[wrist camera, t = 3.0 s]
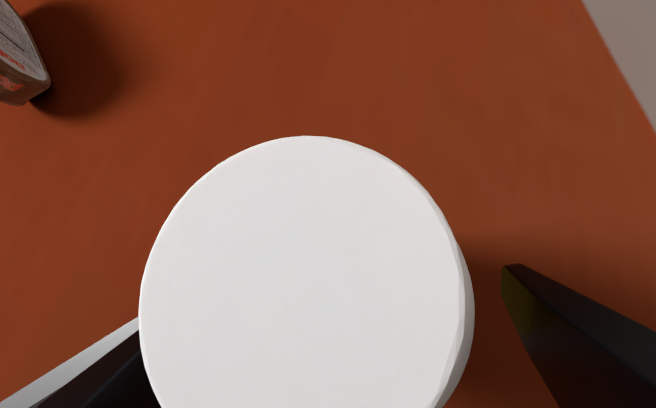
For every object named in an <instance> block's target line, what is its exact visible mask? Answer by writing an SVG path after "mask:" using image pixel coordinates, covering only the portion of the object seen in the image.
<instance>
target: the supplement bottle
mask: <svg viewBox="0 0 656 408" xmlns="http://www.w3.org/2000/svg"><path fill="white" fill-rule="evenodd" d="M474 319H475V308H474V294H473V289H472V283H471V278H470V274H469V271H468V268H467V265H466V262H465V259H464V256H463V254H462V252H461V249H460V247H459V245H458V243H457V242H456V240H455V238H454V236H453V233H452V230H451V228H450V226H449V224H448V222H447V221H446V219H445V217H444V215H443V213H442V211H441V210H440V208H439V207H438V206H437V204H436V203H435V201H434V200H433V198H432V197H431V196H430V194H429V193H428V191H427V190H426V189H425V188H424V187H423V186H422V185H421V184H420V183H419V182H418V181H417V180H416V179H415V178H414V177H413V176H412V175H411V174H409V173H408V172H407V171H406V170H405V169H403V168H402V167H400V166H399V165H397V164H396V163H394V162H393V161H391V160H390V159H388V158H387V157H385V156H383V155H381V154H379V153H377V152H376V151H374V150H371V149H369V148H366V147H363V146H360V145H358V144H355V143H352V142H349V141H345V140H341V139H335V138H329V137H320V136H299V137H287V138H281V139H276V140H272V141H268V142H265V143H262V144H259V145H256V146H253V147H251V148H248V149H246V150H244V151H242V152H240V153H238V154H236V155H234V156H232V157H230V158H228V159H226V160H225V161H223V162H221V163H220V164H218V165H217V166H216V167H214V168H213V169H212V170H210V171H209V172H208V173H207V174H205V175H204V176H203V177H202V178H201V179H199V180H198V181H197V182H196V183H195V184H194V185H193V186H192V187H191V188H190V189H189V190H188V191H187V192H186V193H185V195H184V196H183V197H182V198H181V199H180V201H179V202H178V203H177V204H176V206H175V207H174V208H173V210H172V212H171V213H170V215H169V216H168V218H167V220H166V221H165V223H164V225H163V226H162V228H161V230H160V232H159V234H158V236H157V238H156V241H155V243H154V245H153V248H152V250H151V253H150V255H149V258H148V261H147V263H146V267H145V271H144V275H143V279H142V282H141V291H140V300H139V335H140V347H141V352H142V357H143V362H144V367H145V370H146V372H147V375H148V378H149V381H150V384H151V387H152V389H153V391H154V393H155V395H156V398H157V400H158V402H159V404H160V406H161V407H162V408H443V406H444V405H445V404H446V402H447V401H448V399H449V398H450V396H451V395H452V393H453V392H454V390H455V388H456V386H457V385H458V383H459V381H460V378H461V376H462V374H463V372H464V369H465V366H466V364H467V361H468V358H469V355H470V350H471V345H472V340H473V333H474Z"/></svg>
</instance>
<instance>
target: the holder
mask: <svg viewBox="0 0 656 408" xmlns="http://www.w3.org/2000/svg"><path fill="white" fill-rule="evenodd" d="M137 330H139V316H138V317H137V318H135V319H133V320H132V321H130V322H129V323H127V324H125V325H124V326H122V327H121V328H119V329H117V330H116V331H114V332H113V333H111V334H109V335H108V336H106V337H105V338H103V339H101V340H100V341H98V342H96V343H95V344H93V345H92V346H90V347H88V348H87V349H85V350H84V351H82V352H80V353H79V354H77V355H76V356H74V357H72V358H71V359H69V360H68V361H66V362H64V363H63V364H61V365H60V366H58V367H56V368H55V369H53V370H52V371H50V372H48V373H47V374H45V375H44V376H42V377H40V378H39V379H37V380H36V381H34V382H32V383H31V384H29V385H27V386H26V387H24V388H23V389H21V390H19V391H18V392H16V393H15V394H13V395H11V396H10V397H8V398H7V399H5V400H3V401H2V402H0V408H37V406H38V405H39V404H40V403H42V402H43V401H44V400H46V399H47V398H48V397H49V396H51V395H52V394H53V393H55V392H56V391H57V390H59V389H60V388H61V387H63V386H64V385H65V384H67V383H68V382H69V381H71V380H72V379H73V378H75V377H76V376H77V375H79V374H80V373H81V372H83V371H84V370H85V369H87V368H88V367H89V366H91V365H92V364H93V363H95V362H96V361H97V360H99V359H100V358H101V357H103V356H104V355H105V354H107V353H108V352H109V351H111V350H112V349H113V348H115V347H116V346H117V345H119V344H120V343H121V342H123V341H124V340H125V339H127V338H128V337H129V336H131V335H132V334H133V333H135V332H136V331H137Z"/></svg>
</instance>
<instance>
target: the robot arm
mask: <svg viewBox="0 0 656 408" xmlns="http://www.w3.org/2000/svg"><path fill="white" fill-rule="evenodd" d="M501 295H502V298H503V301H504V303H505V305H506V307H507V309H508V312H509V314H510V316H511V318H512V320H513V323H514V325H515V327H516V329H517V331H518V334H519V336H520V338H521V340H522V342H523V345H524V347H525V349H526V351H527V353H528V354H529V356H530V358H531V360H532V362H533V363H534V365H535V367H536V368H537V370H538V372H539V374H540V375H541V377H542V379H543V380H544V382H545V384H546V385H547V387H548V389H549V391H550V392H551V394H552V396H553V397H554V399H555V401H556V402H557V404H558V406H559V408H656V331H654V330H652V329H650V328H648V327H646V326H644V325H642V324H640V323H638V322H636V321H634V320H632V319H630V318H628V317H626V316H624V315H622V314H620V313H618V312H616V311H614V310H612V309H610V308H608V307H606V306H604V305H602V304H600V303H598V302H596V301H594V300H592V299H590V298H588V297H586V296H584V295H582V294H580V293H578V292H576V291H574V290H572V289H570V288H568V287H566V286H564V285H562V284H560V283H558V282H556V281H554V280H552V279H550V278H548V277H546V276H544V275H542V274H540V273H538V272H536V271H534V270H532V269H530V268H528V267H526V266H524V265H522V264H509V265H505V266H503V268H502V275H501ZM37 408H162V407H161V406H160V404H159V402H158V400H157V398H156V395H155V393H154V391H153V389H152V387H151V384H150V381H149V378H148V375H147V372H146V370H145V367H144V362H143V357H142V352H141V347H140V335H139V330H137V331H136V332H135V333H133V334H132V335H131V336H129V337H128V338H127V339H125V340H124V341H123V342H121V343H120V344H119V345H117V346H116V347H115V348H113V349H112V350H111V351H109V352H108V353H107V354H105V355H104V356H103V357H101V358H100V359H99V360H97V361H96V362H95V363H93V364H92V365H91V366H89V367H88V368H87V369H85V370H84V371H83V372H81V373H80V374H79V375H77V376H76V377H75V378H73V379H72V380H71V381H69V382H68V383H67V384H65V385H64V386H63V387H61V388H60V389H59V390H57V391H56V392H55V393H53V394H52V395H51V396H49V397H48V398H47V399H46V400H44V401H43V402H42V403H40V404H39V405H38V406H37Z"/></svg>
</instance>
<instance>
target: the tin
mask: <svg viewBox="0 0 656 408" xmlns="http://www.w3.org/2000/svg"><path fill="white" fill-rule="evenodd" d="M50 85H51V79H50V76H49V74H48V71H47V69H46V67H45V64H44V62H43V60H42V57H41V55H40V53H39V51H38V48H37V46H36V44H35V42H34V39H33V37H32V35H31V33H30V31H29V29H28V27H27V25H26V24H25V22H24V21H23V19H22V18H21V17H20V15H19V14H18V13H17V11H16V10H15V9H14V8H13V7H12V5H11V4H10V3H9V2H8V1H7V0H0V101H1V102H3V103H5V104H9V105H13V106H22V105H24V104H25V103H26V102H27V101H28V100H30V99H31V98H33V97H35V96H37V95H39V94H40V93H42V92H44V91H45V90H47V89H48V88H49V87H50Z"/></svg>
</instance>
